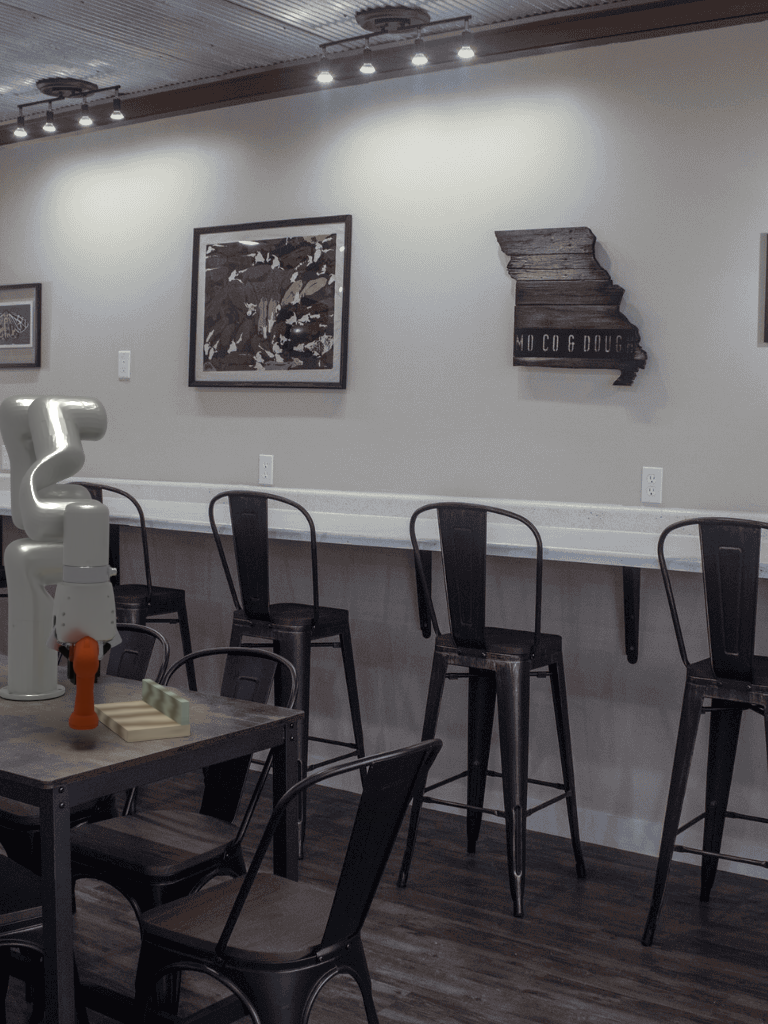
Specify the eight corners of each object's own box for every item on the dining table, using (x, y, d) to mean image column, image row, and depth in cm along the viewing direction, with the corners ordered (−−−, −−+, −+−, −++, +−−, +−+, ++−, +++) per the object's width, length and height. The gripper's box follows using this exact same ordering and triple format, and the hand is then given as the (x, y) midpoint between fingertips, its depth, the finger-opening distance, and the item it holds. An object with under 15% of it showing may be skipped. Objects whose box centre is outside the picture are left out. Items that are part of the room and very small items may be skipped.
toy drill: (98, 695, 197) (101, 614, 195) (98, 735, 180) (102, 647, 177) (70, 695, 196) (73, 614, 194) (67, 735, 178) (71, 647, 176)
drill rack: (92, 715, 204) (93, 683, 204) (149, 709, 210) (150, 678, 209) (127, 742, 185) (128, 707, 185) (190, 735, 191) (190, 701, 190)
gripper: (125, 571, 193) (123, 674, 194) (31, 574, 185) (30, 681, 186) (138, 576, 187) (136, 683, 188) (42, 579, 178) (40, 691, 180)
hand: (83, 681), depth 187 cm, fingers closed on toy drill, 2 cm apart
